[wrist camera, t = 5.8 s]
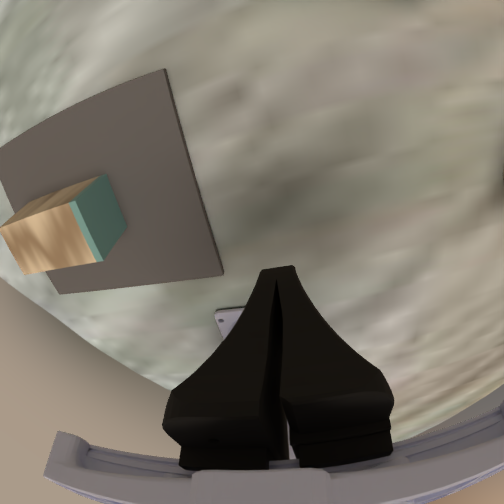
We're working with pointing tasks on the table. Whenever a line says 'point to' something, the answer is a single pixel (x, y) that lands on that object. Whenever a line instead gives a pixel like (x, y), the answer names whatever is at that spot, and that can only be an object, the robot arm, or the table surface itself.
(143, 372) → the table surface
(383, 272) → the table surface
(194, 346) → the table surface
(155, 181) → the mat
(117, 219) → the maple block
